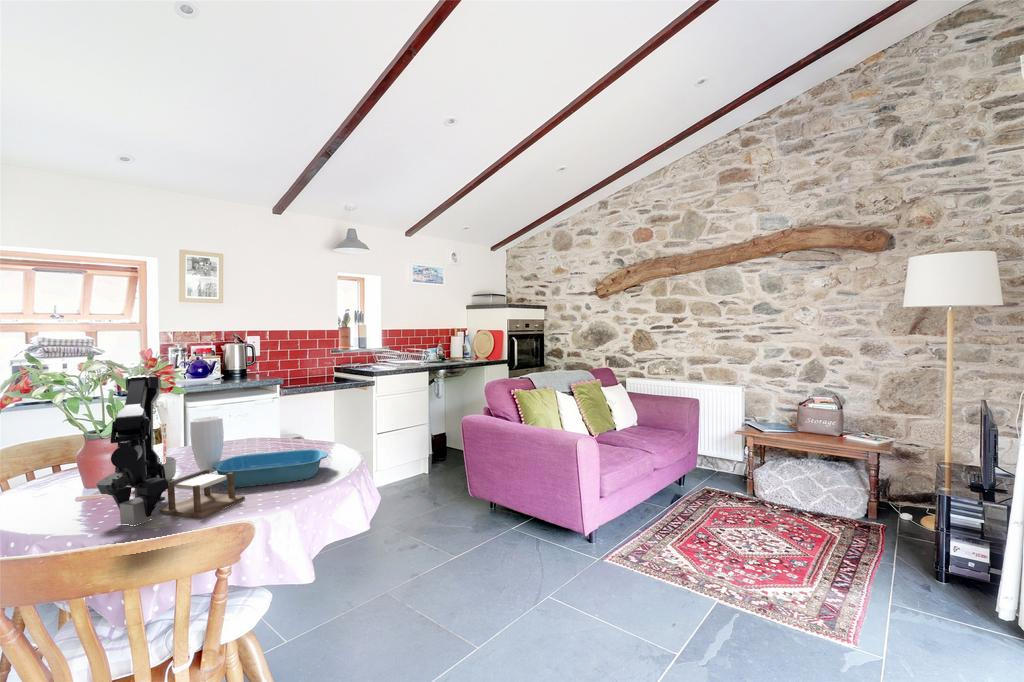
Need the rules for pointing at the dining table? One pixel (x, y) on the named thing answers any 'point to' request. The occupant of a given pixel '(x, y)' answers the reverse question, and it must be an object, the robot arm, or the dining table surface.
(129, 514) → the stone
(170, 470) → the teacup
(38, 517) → the dining table surface
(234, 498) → the trapdoor stand
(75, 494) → the dining table surface
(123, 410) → the robot arm
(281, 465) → the casserole dish
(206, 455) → the cup
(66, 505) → the dining table surface
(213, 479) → the trapdoor
